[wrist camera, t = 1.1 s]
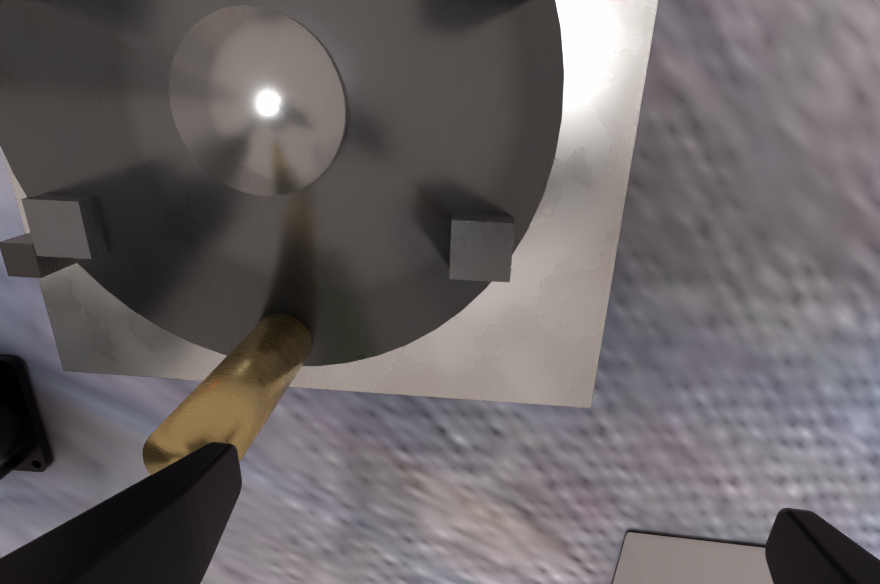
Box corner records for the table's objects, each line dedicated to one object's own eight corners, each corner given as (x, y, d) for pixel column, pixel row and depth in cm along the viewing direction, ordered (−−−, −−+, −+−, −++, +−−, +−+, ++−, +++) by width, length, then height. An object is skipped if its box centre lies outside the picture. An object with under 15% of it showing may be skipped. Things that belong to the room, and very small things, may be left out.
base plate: (584, 388, 23) (606, 455, 19) (87, 354, 24) (5, 410, 20) (696, -326, 14) (785, -499, 10) (-81, -314, 16) (-286, -461, 11)
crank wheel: (-12, -219, 15) (-678, -636, 6) (583, -222, 14) (746, -722, 5) (110, 316, 21) (-143, 469, 13) (525, 342, 20) (556, 528, 12)
